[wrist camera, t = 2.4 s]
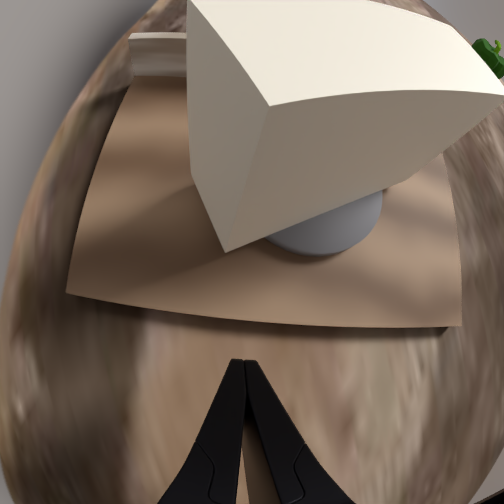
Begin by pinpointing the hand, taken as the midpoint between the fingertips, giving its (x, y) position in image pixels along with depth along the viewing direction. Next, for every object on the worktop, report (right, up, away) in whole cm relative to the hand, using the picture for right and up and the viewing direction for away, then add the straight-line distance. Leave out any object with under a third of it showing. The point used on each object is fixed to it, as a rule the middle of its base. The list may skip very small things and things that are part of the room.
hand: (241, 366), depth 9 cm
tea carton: (+4, +8, +9) cm, 13 cm away
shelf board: (+4, +8, +11) cm, 14 cm away
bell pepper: (+43, +38, +25) cm, 63 cm away
